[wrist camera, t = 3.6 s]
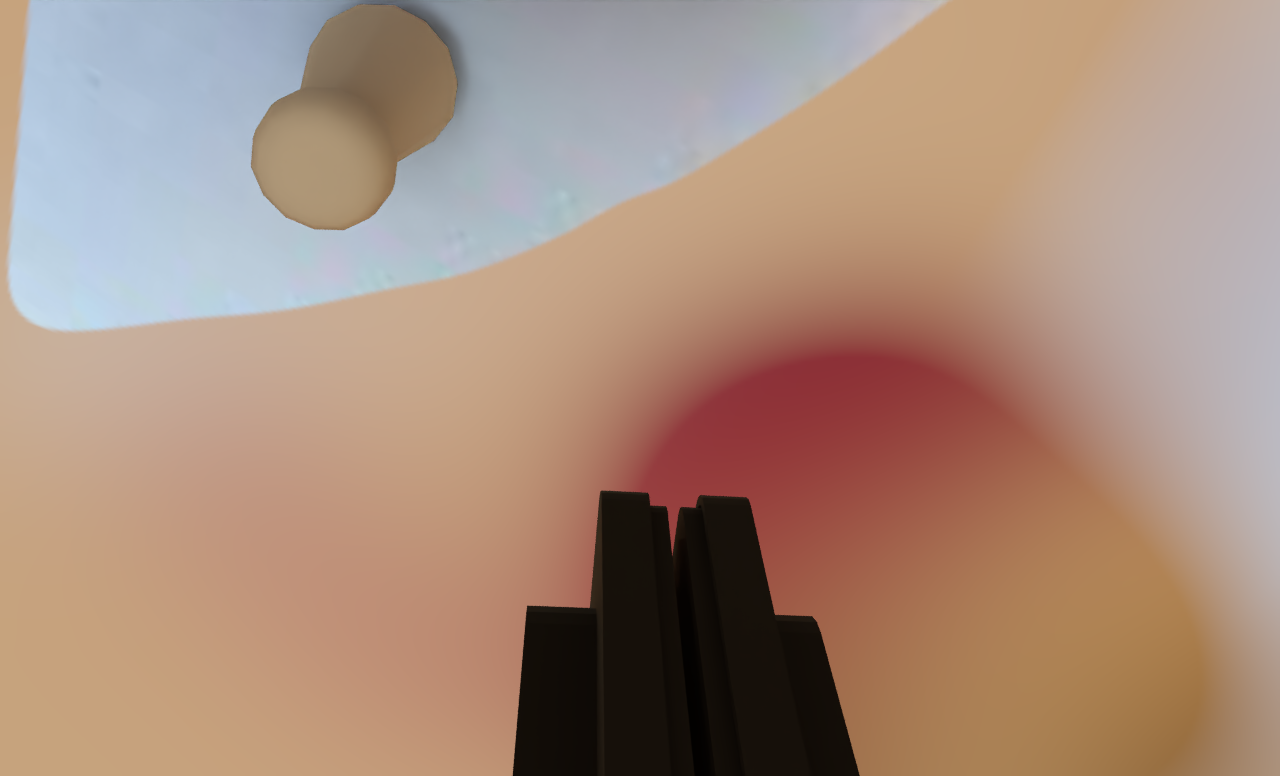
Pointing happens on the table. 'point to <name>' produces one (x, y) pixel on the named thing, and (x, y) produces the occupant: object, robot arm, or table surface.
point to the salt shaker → (354, 116)
